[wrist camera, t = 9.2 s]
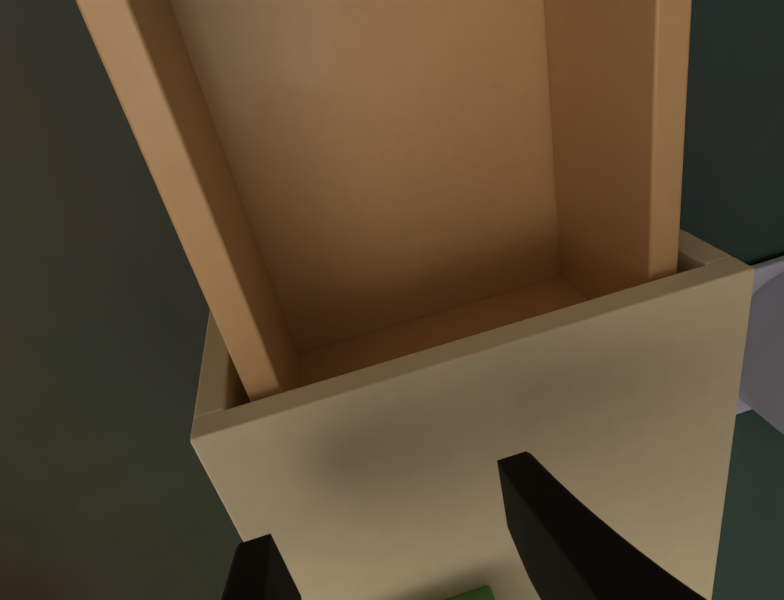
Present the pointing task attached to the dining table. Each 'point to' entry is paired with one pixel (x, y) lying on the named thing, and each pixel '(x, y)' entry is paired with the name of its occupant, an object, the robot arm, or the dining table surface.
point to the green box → (476, 594)
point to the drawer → (402, 162)
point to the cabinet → (494, 441)
